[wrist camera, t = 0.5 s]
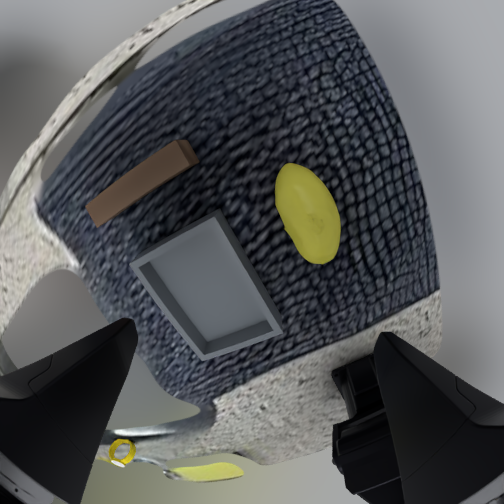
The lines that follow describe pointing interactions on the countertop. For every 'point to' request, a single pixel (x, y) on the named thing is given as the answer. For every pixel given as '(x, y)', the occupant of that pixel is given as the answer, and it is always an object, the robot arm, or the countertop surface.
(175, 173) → the rail
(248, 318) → the tray
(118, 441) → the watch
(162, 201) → the countertop surface
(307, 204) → the lemon
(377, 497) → the robot arm
